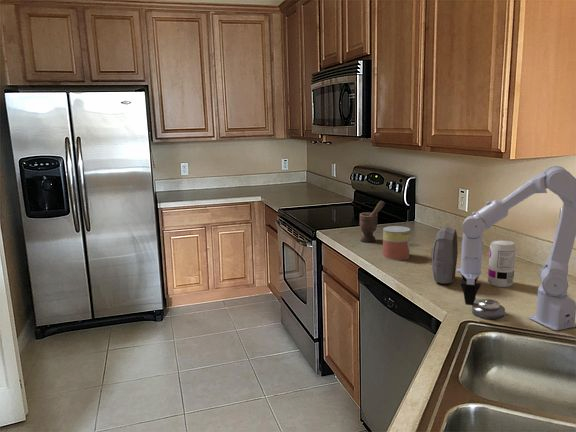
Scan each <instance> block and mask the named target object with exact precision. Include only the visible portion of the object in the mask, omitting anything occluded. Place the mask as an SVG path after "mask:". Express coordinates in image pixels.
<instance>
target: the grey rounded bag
mask: <svg viewBox="0 0 576 432" xmlns="http://www.w3.org/2000/svg"><path fill="white" fill-rule="evenodd" d="M458 244H459V243H458V234H457V229H454V228H451V227H449V226H446V227H445V226H444V227H442V228H440V230H439V231H437V233H436V235H435V238H434V241H433V245H432V248H431V257H430V261H431V263H430V265H431V269H432V273H433V274H432V275H433V279H434V280H433V281H435V282H436V283H438V284H439V283H440V284H450V283H453V282H454V281H455V279H456V273H457V272H456V270H457V262H458V252H459V251H458Z"/></svg>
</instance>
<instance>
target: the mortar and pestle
mask: <svg viewBox="0 0 576 432" xmlns="http://www.w3.org/2000/svg"><path fill="white" fill-rule="evenodd" d="M385 204H386V203H385V201H383V200H380V201H379V202H378V203H377V204H376V206H375V208H374V210H373V211H372V212H361V213H359V227H360V230H361V232H362V233H363V234H362V235H361V237H360V242H363V243H371V242H376V240H377V239H376V237H375V236H374V232H375V231H376V230H377V226H378V219H379V217H378V215H379V214H378V213H379V212H380V211H381V210H382V208H383V207H384V206H385Z"/></svg>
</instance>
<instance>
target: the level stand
mask: <svg viewBox="0 0 576 432" xmlns="http://www.w3.org/2000/svg"><path fill="white" fill-rule="evenodd" d="M471 306H472V309H471V313H472V315H474V316H475V317H477V318H479V319H483V320H490V321H496V320H497V321H498V320H502V319H504V318H505V315H506V308H505V307H504V306H503V305H501V304H500V308H499V309H498V310H485V309H481V308H480V307H478V304H477V303H474V304H473V305H471Z"/></svg>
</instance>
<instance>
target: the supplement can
mask: <svg viewBox="0 0 576 432" xmlns="http://www.w3.org/2000/svg"><path fill="white" fill-rule="evenodd" d="M516 251H517V247H516V245H515V243H514V242H513V241H511V240H505V239H495V240H492V241H491V243H490V245H489V256H488V272H487V273H488V274H487V275H488V276H487V282H488V283H489V284H490V285H491V286H494V287H498V288H509V287H511V286H512V285H514V278H515V264H516V263H515V262H516Z"/></svg>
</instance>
